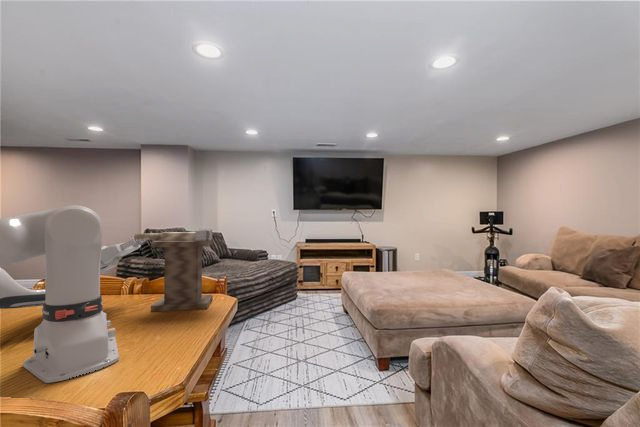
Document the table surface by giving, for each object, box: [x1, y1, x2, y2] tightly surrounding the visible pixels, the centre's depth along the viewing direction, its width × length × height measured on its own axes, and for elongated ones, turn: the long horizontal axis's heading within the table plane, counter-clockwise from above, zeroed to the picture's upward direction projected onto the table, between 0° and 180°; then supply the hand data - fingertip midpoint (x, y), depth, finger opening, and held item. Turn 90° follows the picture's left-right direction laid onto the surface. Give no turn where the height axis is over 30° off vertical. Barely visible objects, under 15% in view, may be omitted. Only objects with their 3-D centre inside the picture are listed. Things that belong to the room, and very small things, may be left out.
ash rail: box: [133, 231, 195, 241], centre depth 116 cm, size 26×4×3 cm, turn 101°
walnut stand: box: [150, 238, 214, 312], centre depth 117 cm, size 20×12×26 cm, turn 101°
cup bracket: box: [194, 229, 213, 241], centre depth 119 cm, size 5×8×4 cm, turn 11°
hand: (140, 239), depth 115 cm, fingers open, 8 cm apart
